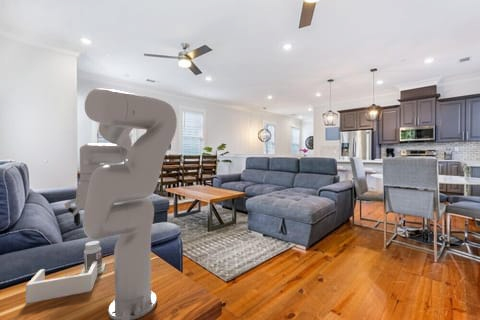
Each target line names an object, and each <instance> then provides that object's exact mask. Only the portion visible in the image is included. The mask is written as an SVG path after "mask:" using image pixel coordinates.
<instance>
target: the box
mask: <svg viewBox="0 0 480 320" xmlns="http://www.w3.org/2000/svg"><path fill="white" fill-rule="evenodd" d="M45 273H46V269H45V268H42V269H41V268H40V269H39V270H38V271H37V272H36V274H35V275H33V277H32V278H31V280H29V281H28V282H27V283H26V284H25V304H31V303H36V302H41V301H42V302H43V301H46V300H52V299H57V298H63V297H68V296H72V295H78V294H83V293H88V292H92V291H93V288H94V285H95V283H96V281H97V278H98V274H97V261H93V263H92V265H91V267H90V269H89V272H88V273H85V274H80V273H79V274H74V275H68V276H62V277H61V276H60V277H57V278H56V277H55V278H51V279H46V278H45V277H46V276H45V275H46V274H45Z"/></svg>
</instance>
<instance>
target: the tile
mask: <svg viewBox="0 0 480 320" xmlns="http://www.w3.org/2000/svg"><path fill="white" fill-rule="evenodd" d="M106 266H107V262H102V267H101V268H100V269H98V270H97V275H98V274H103V273H104V271H105V269H106ZM85 273H88V272H86V271H85V270H84V266H83V268H82V269H81V271H80V273H79V274H85Z"/></svg>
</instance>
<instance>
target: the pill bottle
mask: <svg viewBox="0 0 480 320" xmlns="http://www.w3.org/2000/svg"><path fill="white" fill-rule="evenodd" d="M100 243H101V242H100V241H99V240H92V241H88V242H86V243H85V245H84V247H85V249H84V251H83V267H84V270H85V271H86V272H89V269H90V267H91V265H92V263H93V261H97V270H98V269H100V268H101V267H102V263H103V257H102V253H103V252H102V247H101V246H100Z"/></svg>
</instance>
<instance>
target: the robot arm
mask: <svg viewBox="0 0 480 320" xmlns="http://www.w3.org/2000/svg"><path fill="white" fill-rule="evenodd" d="M84 112H85V114H86V116H87V117H88V118H89V119H90V120H92V121H93V122H96V123H98V124H99V125H98V132H99V134H100V136H101V137H102V138H103V139H104V140H105V141H108V142H109V143H91V142H90V143H89V142H88V143H85V144H84V145H82V146H80V148H79V178H80V179H79V182H78V183H77V186H76V193H75V194H76V195H75V198H73V199H71V200H69V201H67V202H66V203H64V207H65V208H66V210H67V212H70V213H71V214H72V215H73V223H74V224H75V227H78V226H79V225H81V213H80V211H81V210H83V217H82V228H83V232H84V234H85V236H86V237H88V238H89V239H91V240H102V239H105V238H110V237H114V236H119V237H118V239H117V240H116V243H115V246H114V249H113V251H114V252H113V253H114V254H113V257H114V258H113V259H114V263H113V264H114V266H113V267H114V271H113V272H114V299H113V301H112V302H111V303H110V304H109V306H108V313H107V314H108V316H109V318H110V319H112V320H136V319H139V318H141V317H143V316H146V315H147V314H148V313H150V312H151V311H152V310H153V309H154V308H155V307H156V304H157V302H158V301H157V299H158V298H157V295H156V293H155V292H153V290H152V266H151V265H152V260H151V259H152V258H151V256H152V242H151V241H152V230H153V223H154V217H155V207H154V204H153V202H152V201H151V199H149V197H151V196H152V195H153V194H154V193H155V191H156V188H157V185H158V181H159V180H160V179H159V178H160V175H161V172H162V167H163V163H164V160H165V156H166V154H167V152H168V149H169V148H170V145H171V143H172V142H173V140H174V137H175V134H176V132H177V127H178V126H177V125H178V122H177V121H178V120H177V119H178V118H177V114H176V111H175V109H174V107H173V105H171V104H170V103H169V102H167V101H165V100H162V99H159V98H155V97H152V96H147V95H141V94H136V93H132V92H125V91H122V90H116V89H110V88H109V89H108V88H93V89H92V90H91V91H90V92H89V93H87V95H86V98H85V101H84ZM134 129H135V130H146V131H145V133H143V134H142V135H140V137H138V138H137V139H136V140H135V141H134V142H133V143H132V139H131V136H130V134H131V132H132V131H133V130H134ZM125 161H126V162H125ZM123 162H125V163H123ZM122 163H123V164H122ZM74 203H75V208H76V209H75V208H73V206H72V205H73V204H74Z"/></svg>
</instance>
